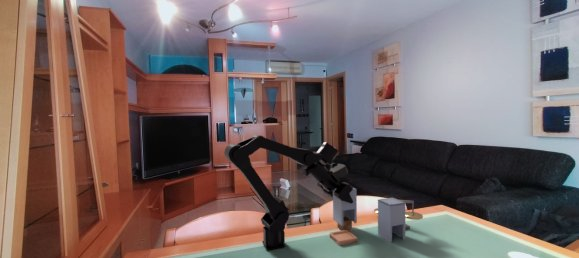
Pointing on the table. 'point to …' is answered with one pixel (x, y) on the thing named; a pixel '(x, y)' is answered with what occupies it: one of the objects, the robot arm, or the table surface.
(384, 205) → the gray arched-opening tower
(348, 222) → the block
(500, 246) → the table surface
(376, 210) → the balance
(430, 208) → the table surface
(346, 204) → the tall vending chute
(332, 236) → the dish
